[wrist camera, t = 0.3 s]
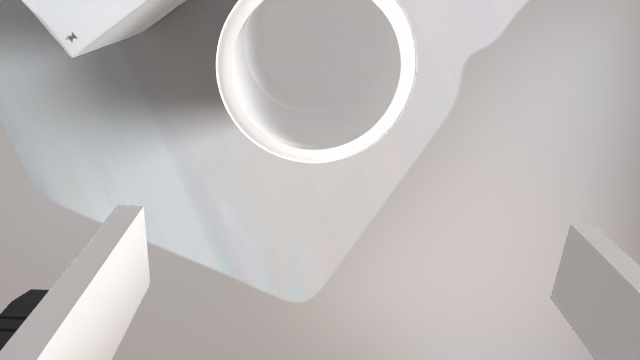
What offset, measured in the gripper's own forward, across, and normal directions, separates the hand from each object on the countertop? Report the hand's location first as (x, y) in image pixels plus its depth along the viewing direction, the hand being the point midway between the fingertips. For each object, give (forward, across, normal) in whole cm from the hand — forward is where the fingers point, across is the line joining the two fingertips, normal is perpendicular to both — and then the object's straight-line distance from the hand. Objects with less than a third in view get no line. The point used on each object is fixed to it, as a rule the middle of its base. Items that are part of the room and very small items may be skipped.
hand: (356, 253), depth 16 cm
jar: (+28, -1, +3) cm, 28 cm away
